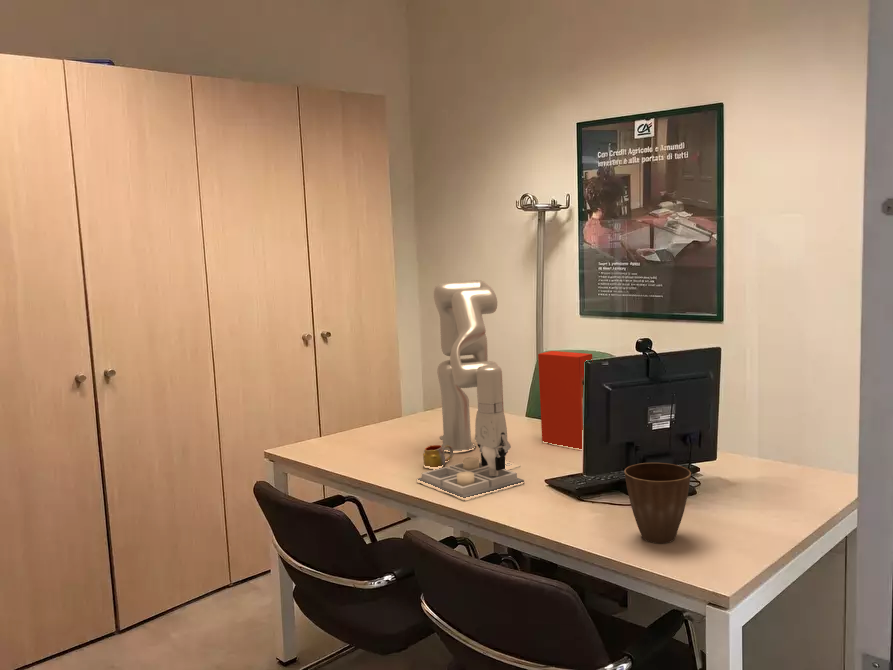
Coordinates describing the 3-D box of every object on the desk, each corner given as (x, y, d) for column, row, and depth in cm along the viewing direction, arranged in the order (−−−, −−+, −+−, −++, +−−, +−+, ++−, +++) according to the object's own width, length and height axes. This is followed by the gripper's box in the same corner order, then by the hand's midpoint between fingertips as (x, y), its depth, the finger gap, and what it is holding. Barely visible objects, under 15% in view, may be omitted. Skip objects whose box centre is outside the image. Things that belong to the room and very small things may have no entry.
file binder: (581, 451, 259) (578, 356, 255) (541, 443, 271) (538, 353, 268) (595, 446, 264) (592, 353, 260) (556, 438, 277) (552, 350, 273)
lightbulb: (489, 472, 233) (487, 437, 231) (508, 475, 229) (506, 439, 228) (479, 478, 227) (477, 442, 226) (498, 481, 224) (496, 444, 223)
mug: (433, 471, 244) (432, 451, 244) (419, 467, 250) (418, 447, 249) (461, 463, 252) (460, 443, 251) (447, 459, 257) (446, 440, 256)
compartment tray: (416, 482, 233) (415, 466, 233) (474, 467, 246) (473, 451, 245) (464, 501, 214) (463, 483, 213) (524, 483, 227) (523, 466, 226)
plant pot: (659, 521, 191) (658, 458, 189) (706, 540, 178) (705, 472, 176) (613, 534, 184) (611, 469, 182) (657, 555, 171) (656, 485, 169)
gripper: (462, 405, 231) (465, 464, 233) (499, 414, 217) (502, 476, 219) (482, 401, 235) (485, 459, 237) (519, 409, 221) (522, 470, 223)
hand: (493, 466), depth 228 cm, fingers closed on lightbulb, 5 cm apart
